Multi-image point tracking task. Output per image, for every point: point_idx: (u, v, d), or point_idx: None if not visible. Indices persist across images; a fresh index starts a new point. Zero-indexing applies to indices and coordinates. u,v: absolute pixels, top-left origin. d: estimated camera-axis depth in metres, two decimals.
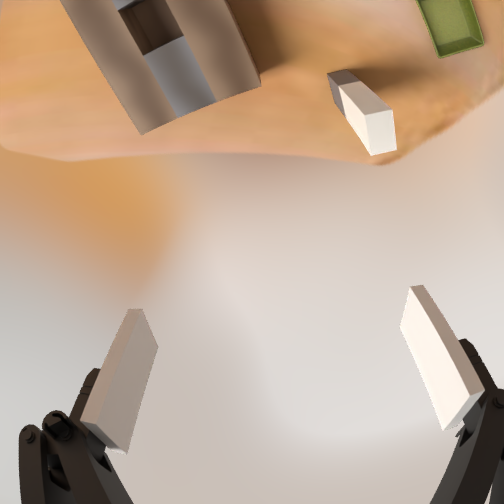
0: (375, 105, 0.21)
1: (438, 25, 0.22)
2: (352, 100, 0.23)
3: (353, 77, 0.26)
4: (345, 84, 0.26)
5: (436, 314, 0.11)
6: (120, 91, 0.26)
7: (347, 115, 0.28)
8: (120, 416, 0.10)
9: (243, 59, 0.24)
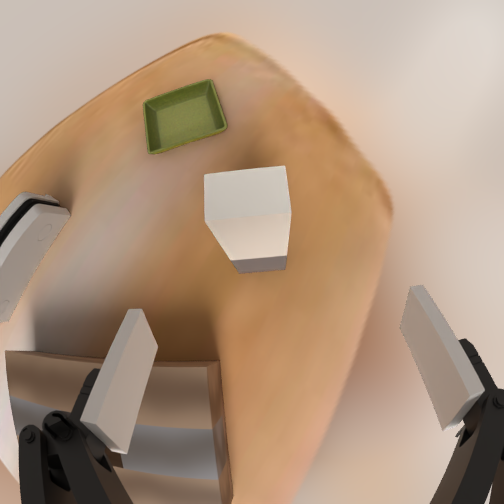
0: None
1: (191, 129, 0.31)
2: (218, 241, 0.17)
3: None
4: None
5: (436, 314, 0.11)
6: None
7: (274, 252, 0.20)
8: (120, 416, 0.10)
9: (162, 374, 0.20)
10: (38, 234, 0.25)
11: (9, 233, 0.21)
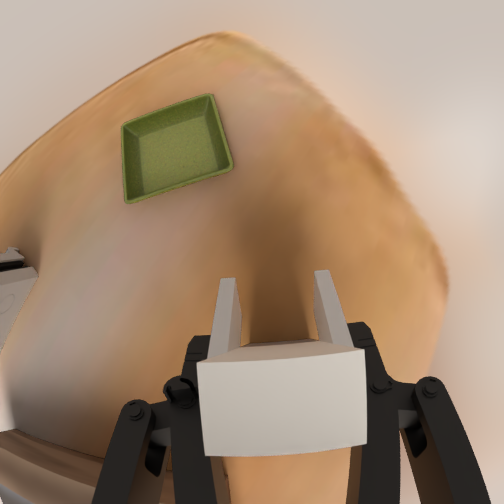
0: None
1: (184, 166, 0.23)
2: None
3: None
4: None
5: (331, 296, 0.13)
6: None
7: None
8: None
9: None
10: None
11: None
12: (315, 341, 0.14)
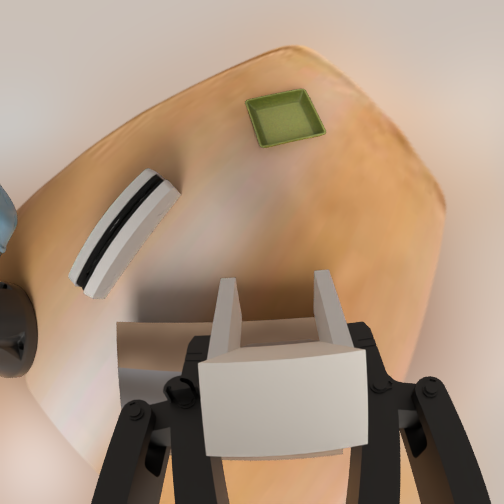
0: None
1: (291, 130, 0.37)
2: None
3: None
4: None
5: (331, 296, 0.13)
6: None
7: None
8: None
9: (304, 324, 0.26)
10: (161, 208, 0.32)
11: (140, 205, 0.28)
12: (316, 341, 0.14)
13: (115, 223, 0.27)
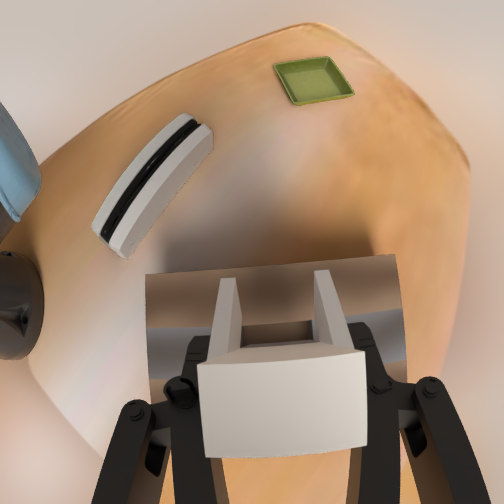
0: None
1: (320, 92, 0.35)
2: None
3: None
4: None
5: (331, 296, 0.13)
6: None
7: None
8: None
9: (360, 264, 0.24)
10: (197, 155, 0.29)
11: (179, 144, 0.26)
12: (315, 342, 0.14)
13: (151, 162, 0.25)
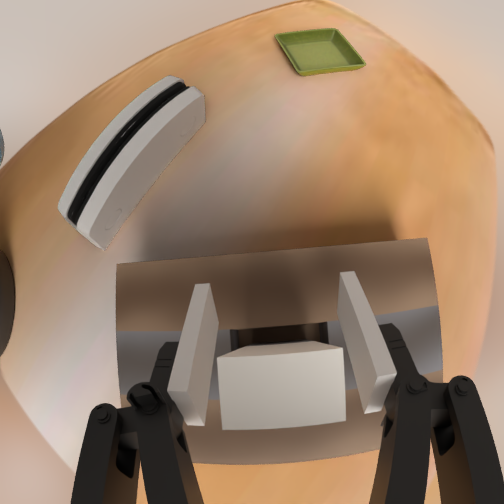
0: None
1: (327, 63, 0.30)
2: None
3: None
4: None
5: (360, 298, 0.13)
6: (366, 443, 0.15)
7: None
8: (200, 386, 0.11)
9: (387, 249, 0.19)
10: (185, 124, 0.24)
11: (163, 106, 0.20)
12: (310, 341, 0.16)
13: (128, 128, 0.19)
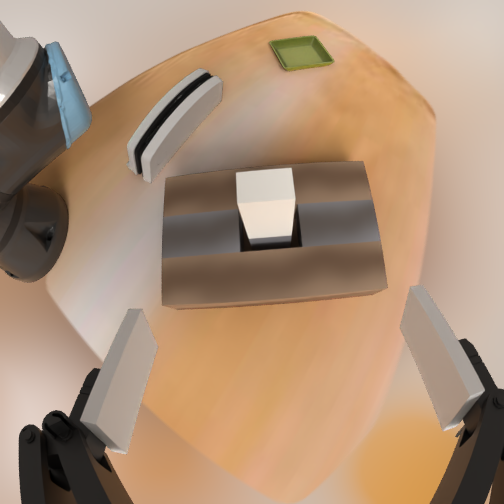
0: None
1: (307, 61, 0.42)
2: (243, 221, 0.24)
3: None
4: None
5: (436, 314, 0.11)
6: (330, 287, 0.27)
7: (282, 232, 0.27)
8: (120, 416, 0.10)
9: (335, 166, 0.31)
10: (210, 99, 0.36)
11: (198, 86, 0.32)
12: None
13: (178, 98, 0.31)
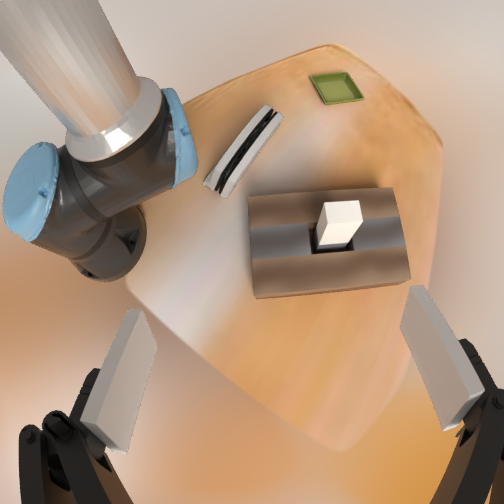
0: (324, 215, 0.33)
1: (341, 96, 0.52)
2: (323, 233, 0.35)
3: (315, 232, 0.41)
4: (317, 239, 0.39)
5: (436, 314, 0.11)
6: (373, 278, 0.38)
7: (343, 240, 0.38)
8: (120, 416, 0.10)
9: (373, 191, 0.41)
10: (274, 131, 0.47)
11: (269, 122, 0.43)
12: None
13: (254, 131, 0.42)
